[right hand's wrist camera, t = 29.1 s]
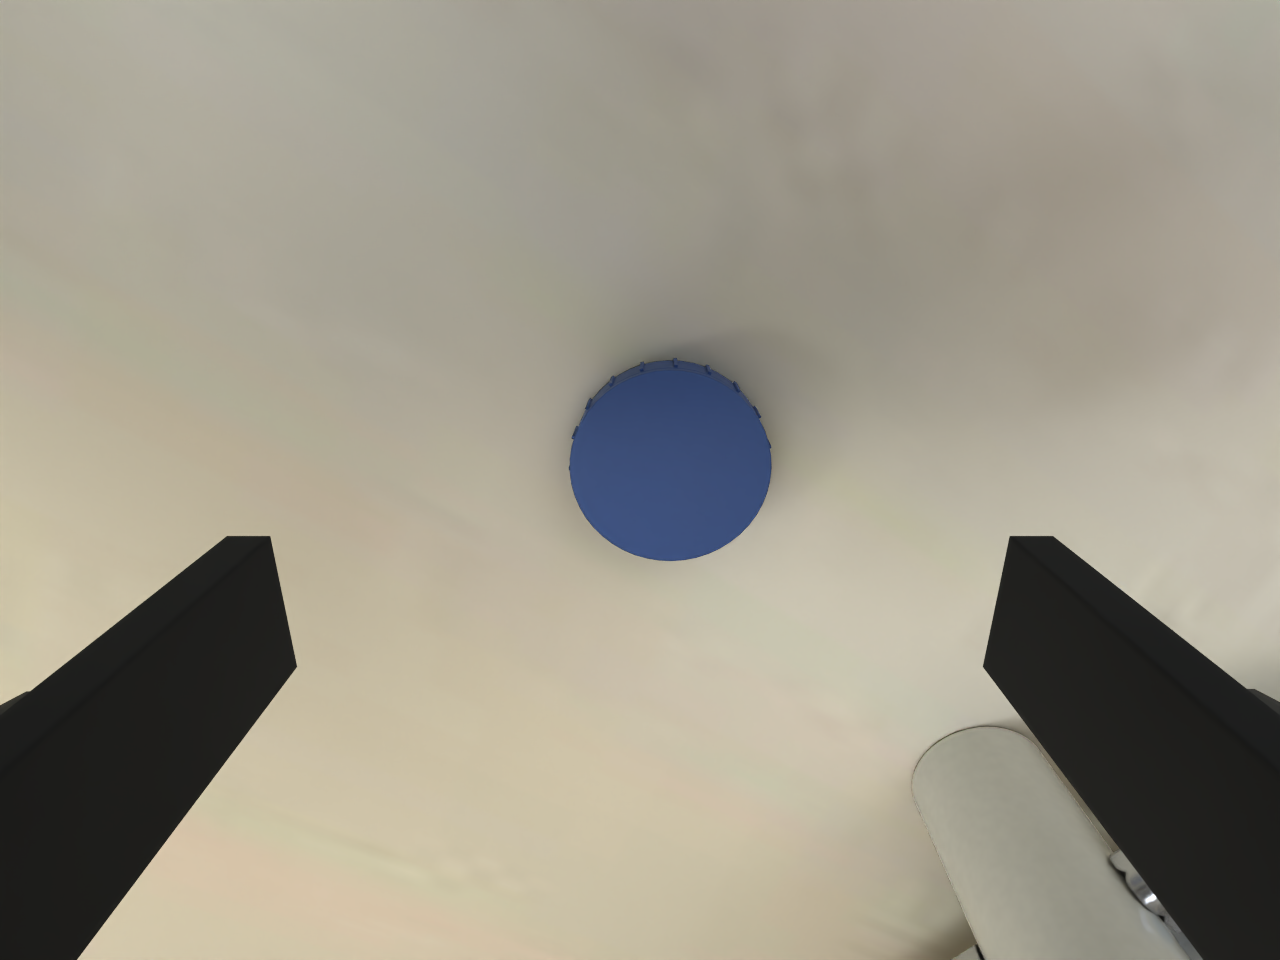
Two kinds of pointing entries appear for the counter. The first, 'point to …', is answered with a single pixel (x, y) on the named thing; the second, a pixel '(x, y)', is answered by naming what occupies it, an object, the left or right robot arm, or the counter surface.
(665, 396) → the lid
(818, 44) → the counter surface
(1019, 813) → the jar
